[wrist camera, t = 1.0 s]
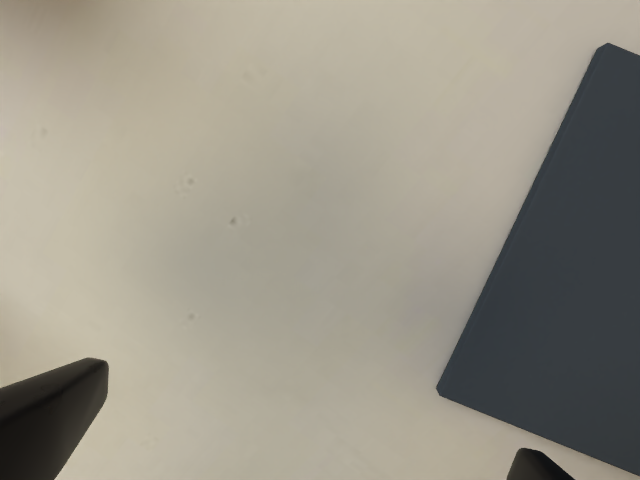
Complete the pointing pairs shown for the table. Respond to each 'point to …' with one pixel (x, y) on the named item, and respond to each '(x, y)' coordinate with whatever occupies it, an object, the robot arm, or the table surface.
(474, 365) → the scrub mat
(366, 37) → the table surface
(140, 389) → the table surface
